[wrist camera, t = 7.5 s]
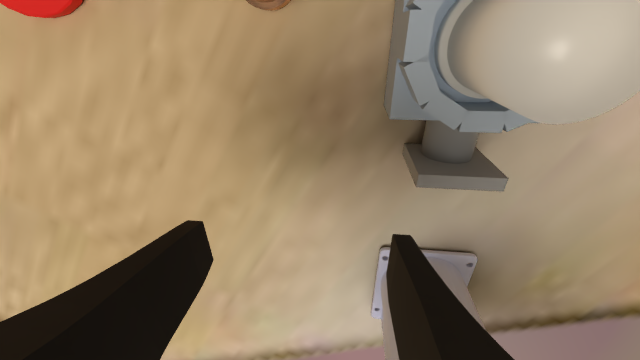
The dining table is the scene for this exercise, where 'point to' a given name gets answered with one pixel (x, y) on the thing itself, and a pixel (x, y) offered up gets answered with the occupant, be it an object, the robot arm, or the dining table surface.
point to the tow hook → (42, 7)
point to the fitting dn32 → (269, 4)
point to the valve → (439, 106)
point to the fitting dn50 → (543, 55)
